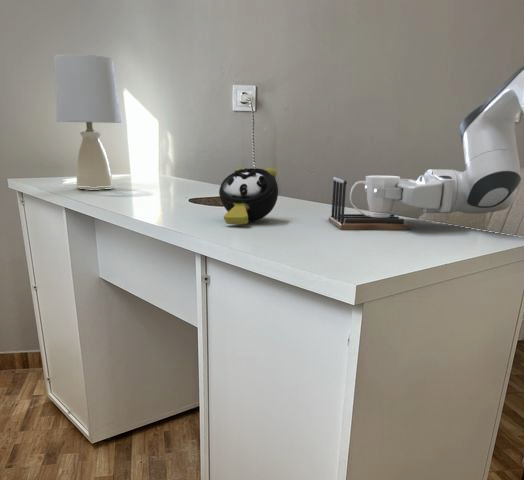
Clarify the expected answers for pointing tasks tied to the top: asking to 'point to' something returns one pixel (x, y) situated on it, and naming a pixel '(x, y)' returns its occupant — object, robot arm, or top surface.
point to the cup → (375, 202)
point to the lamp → (87, 110)
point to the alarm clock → (248, 194)
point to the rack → (359, 215)
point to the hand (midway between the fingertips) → (370, 190)
